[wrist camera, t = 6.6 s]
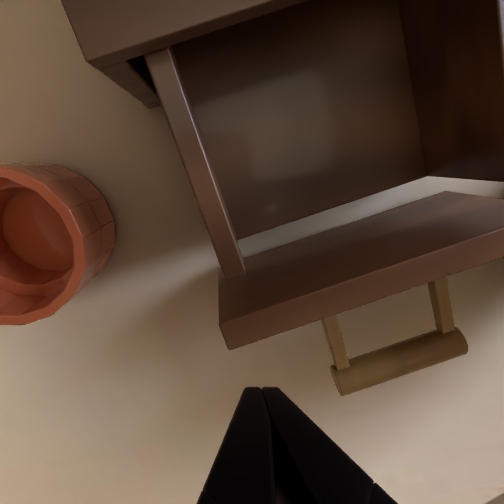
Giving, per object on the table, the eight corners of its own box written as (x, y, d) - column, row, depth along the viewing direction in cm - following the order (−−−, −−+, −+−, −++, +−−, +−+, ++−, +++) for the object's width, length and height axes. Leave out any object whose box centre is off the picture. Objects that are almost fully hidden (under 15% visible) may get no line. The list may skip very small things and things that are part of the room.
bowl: (136, 262, 20) (110, 295, 15) (24, 300, 20) (-37, 345, 15) (85, 146, 18) (36, 141, 13) (-39, 187, 18) (-133, 197, 13)
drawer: (460, 285, 21) (572, 343, 15) (250, 357, 21) (266, 449, 14) (402, -92, 16) (537, -273, 9) (119, 1, 16) (46, -115, 9)
